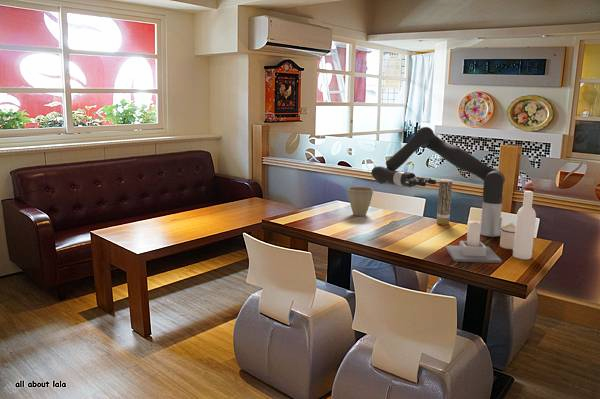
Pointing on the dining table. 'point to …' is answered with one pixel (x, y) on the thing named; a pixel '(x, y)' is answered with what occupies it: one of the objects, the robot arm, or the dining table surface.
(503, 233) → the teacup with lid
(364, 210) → the plant pot
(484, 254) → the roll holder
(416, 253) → the dining table surface
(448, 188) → the paper tube
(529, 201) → the bottle
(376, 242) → the dining table surface
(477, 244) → the paper roll
